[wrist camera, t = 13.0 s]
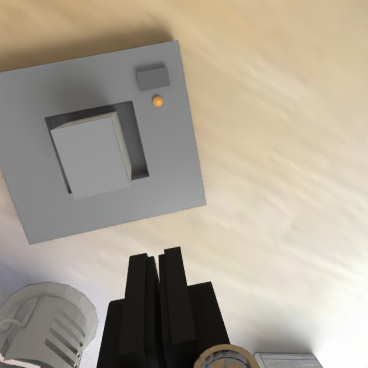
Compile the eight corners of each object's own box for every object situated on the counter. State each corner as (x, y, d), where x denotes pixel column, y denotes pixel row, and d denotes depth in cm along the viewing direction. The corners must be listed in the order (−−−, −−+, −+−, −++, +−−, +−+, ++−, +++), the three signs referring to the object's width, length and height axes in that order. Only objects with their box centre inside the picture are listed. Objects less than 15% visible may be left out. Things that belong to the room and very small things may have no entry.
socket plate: (175, 43, 26) (179, 38, 24) (202, 197, 30) (207, 207, 28) (-21, 79, 25) (-39, 78, 22) (36, 234, 29) (27, 248, 27)
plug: (116, 110, 26) (110, 116, 21) (131, 166, 28) (130, 186, 22) (69, 121, 26) (50, 130, 20) (87, 177, 28) (74, 200, 22)
